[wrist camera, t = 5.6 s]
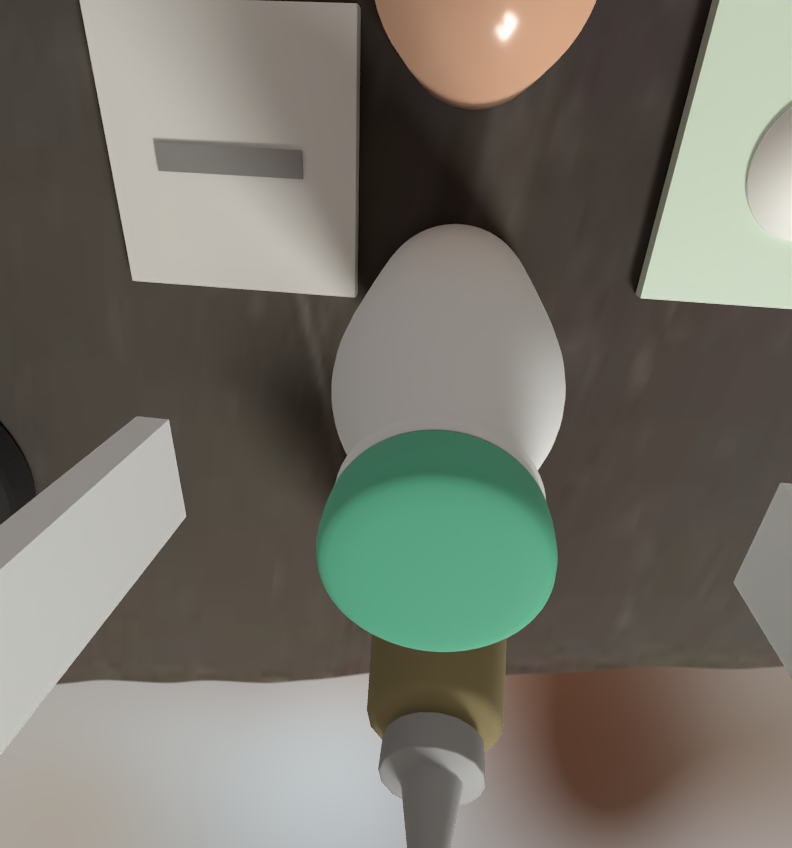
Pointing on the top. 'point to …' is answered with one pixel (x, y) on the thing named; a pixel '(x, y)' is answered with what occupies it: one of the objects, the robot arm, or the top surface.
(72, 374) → the top surface
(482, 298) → the milk bottle
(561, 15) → the rounded peach cylinder
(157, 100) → the tile
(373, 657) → the squeeze bottle
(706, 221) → the tile
